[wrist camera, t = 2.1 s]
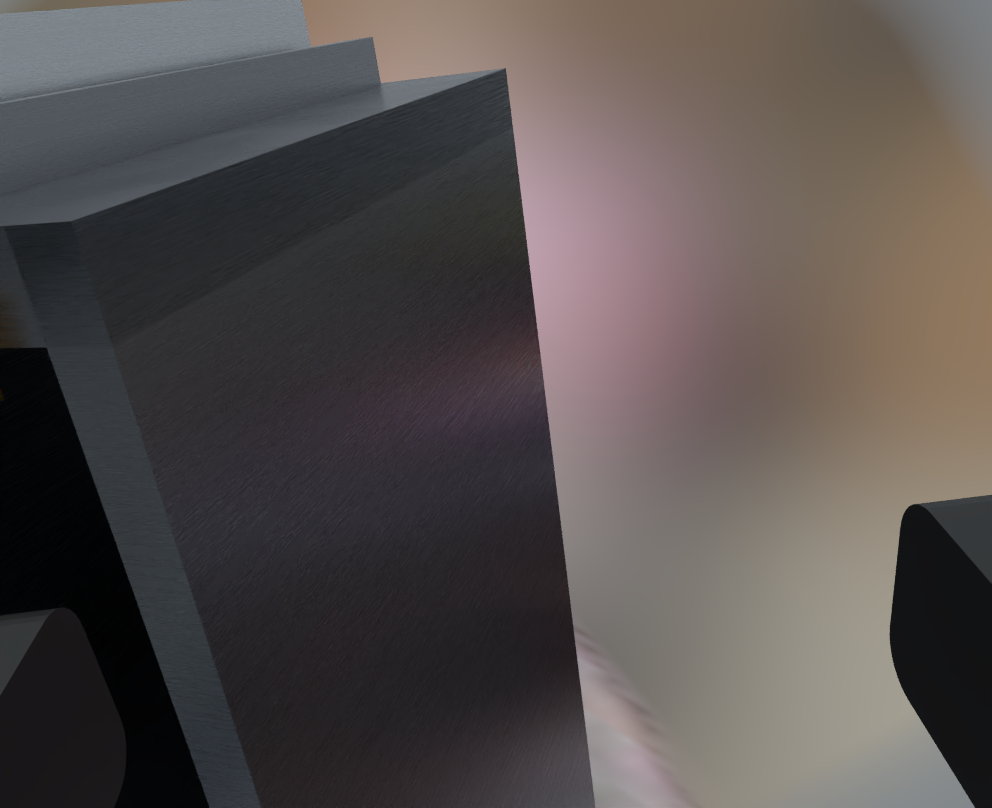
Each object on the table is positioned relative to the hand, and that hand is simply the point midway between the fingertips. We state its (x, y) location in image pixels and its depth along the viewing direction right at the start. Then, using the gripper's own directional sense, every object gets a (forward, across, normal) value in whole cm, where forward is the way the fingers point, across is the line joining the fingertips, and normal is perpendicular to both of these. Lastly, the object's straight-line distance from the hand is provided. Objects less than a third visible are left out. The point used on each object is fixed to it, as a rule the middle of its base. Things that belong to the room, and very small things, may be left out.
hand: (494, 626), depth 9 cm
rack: (+11, +7, +29) cm, 32 cm away
